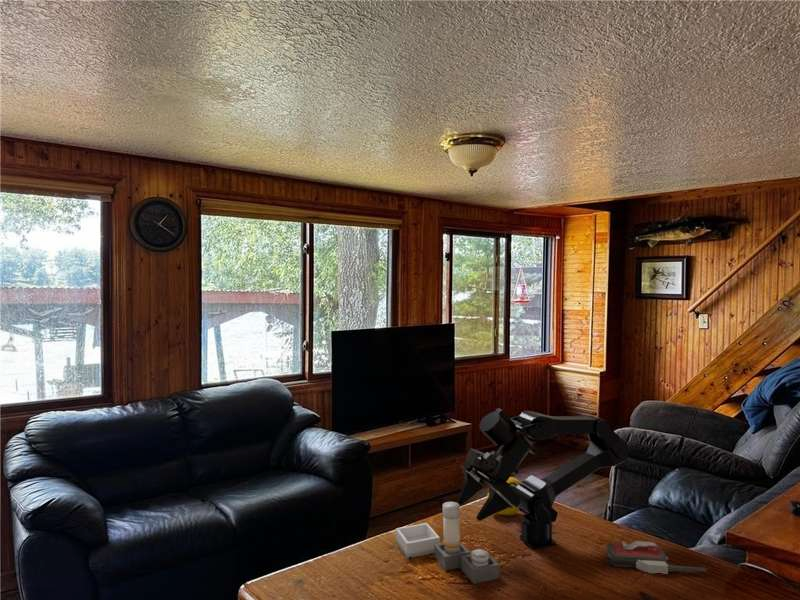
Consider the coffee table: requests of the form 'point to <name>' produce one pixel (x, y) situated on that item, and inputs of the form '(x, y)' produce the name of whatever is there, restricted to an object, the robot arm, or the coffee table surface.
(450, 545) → the white bulb-shaped piece
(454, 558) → the grey square frame
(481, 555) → the white dome piece
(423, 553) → the tray
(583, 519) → the coffee table surface
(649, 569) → the toy chainsaw
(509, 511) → the duckling
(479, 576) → the grey boxy piece
